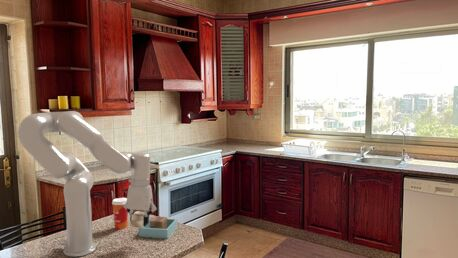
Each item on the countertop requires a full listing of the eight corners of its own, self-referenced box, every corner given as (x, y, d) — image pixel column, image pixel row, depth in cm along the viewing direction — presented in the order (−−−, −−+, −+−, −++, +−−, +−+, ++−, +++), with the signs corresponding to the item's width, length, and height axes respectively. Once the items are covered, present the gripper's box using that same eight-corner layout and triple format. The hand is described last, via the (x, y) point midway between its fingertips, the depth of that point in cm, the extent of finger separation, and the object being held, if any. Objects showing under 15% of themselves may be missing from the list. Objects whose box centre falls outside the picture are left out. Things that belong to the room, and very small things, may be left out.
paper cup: (111, 226, 166) (110, 198, 165) (128, 224, 170) (127, 196, 168) (113, 232, 159) (112, 203, 158) (130, 229, 163) (129, 201, 161)
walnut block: (150, 233, 157) (149, 220, 156) (155, 228, 162) (154, 216, 162) (162, 234, 156) (162, 221, 155) (167, 229, 161) (167, 217, 161)
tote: (138, 237, 154) (138, 227, 153) (150, 226, 167) (150, 217, 166) (167, 239, 151) (167, 230, 151) (177, 228, 165) (177, 219, 164)
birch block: (131, 226, 143) (131, 215, 143) (136, 222, 148) (136, 211, 148) (142, 227, 142) (142, 216, 142) (147, 223, 147) (147, 212, 147)
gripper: (117, 182, 141) (116, 225, 143) (156, 186, 138) (154, 229, 140) (125, 178, 149) (124, 219, 150) (163, 182, 146) (161, 223, 147)
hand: (139, 223), depth 145 cm, fingers closed on birch block, 4 cm apart
